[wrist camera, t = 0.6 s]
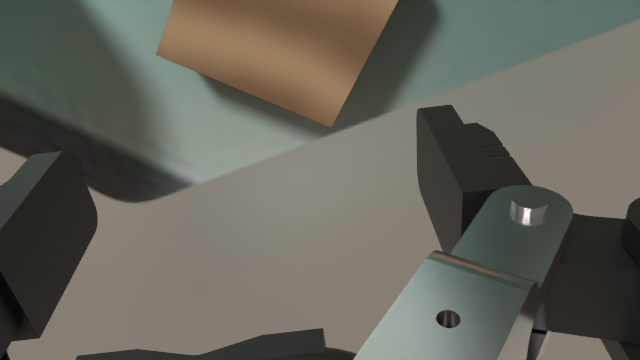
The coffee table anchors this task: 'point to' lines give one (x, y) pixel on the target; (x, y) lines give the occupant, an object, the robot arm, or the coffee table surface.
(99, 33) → the coffee table surface
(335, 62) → the walnut block
